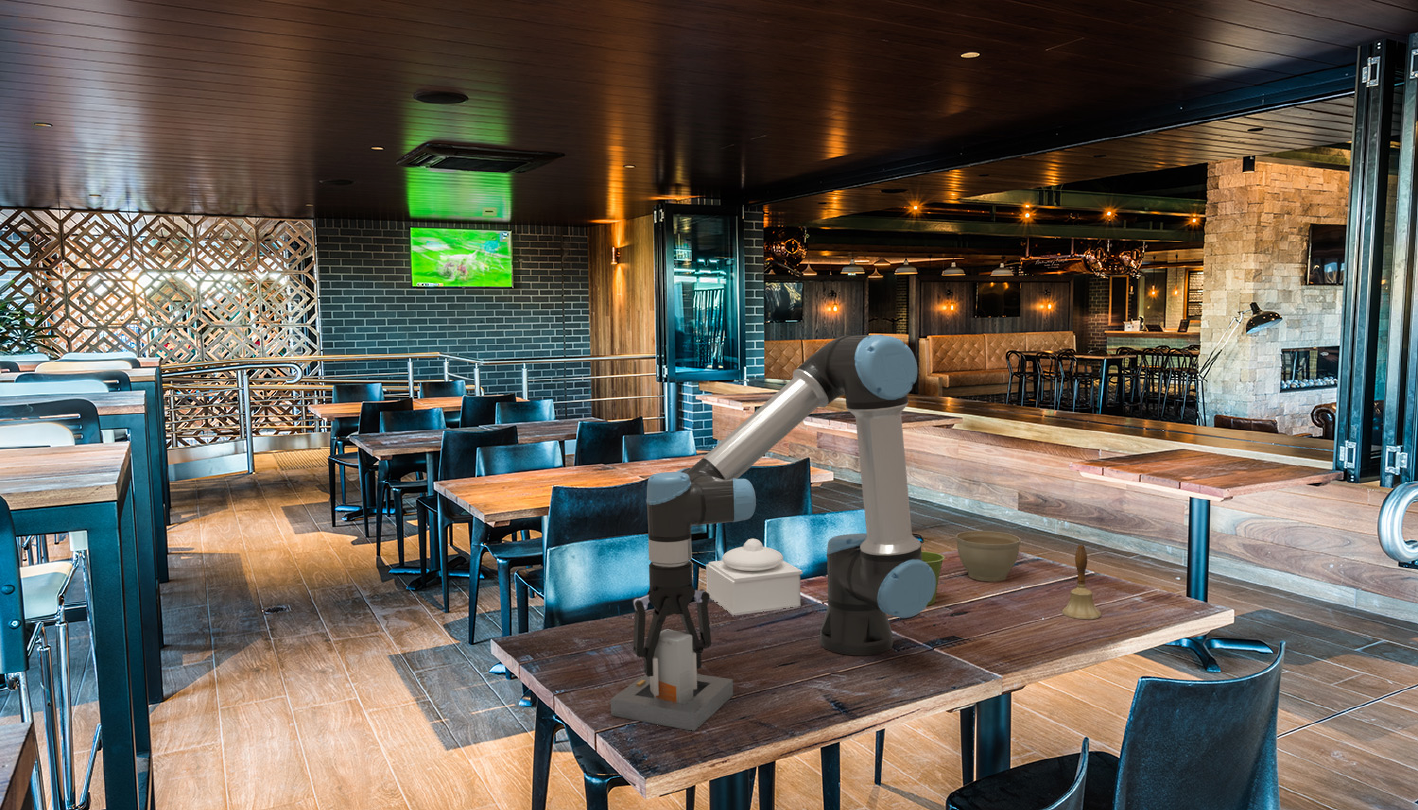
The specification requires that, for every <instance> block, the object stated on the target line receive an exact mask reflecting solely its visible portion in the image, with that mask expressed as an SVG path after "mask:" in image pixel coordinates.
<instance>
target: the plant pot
mask: <svg viewBox="0 0 1418 810" xmlns="http://www.w3.org/2000/svg"><path fill="white" fill-rule="evenodd" d="M921 553H922V561H924V562H926V563H927V564H928V565H929V567H931V568H932V570H933V572H934V574H935V579H936V587H935V592H934V595H933V597H932V599H931V601H930V602H928V604H927V606H930V605H933V604H935V602H936V599H937V591H938V585H939V578H940V573H941V569H942V565H943V561H944V560H945V558H946V557H945V555H943V554H941V553H938V552H933V551H923V550H921ZM927 606H926V607H927Z"/></svg>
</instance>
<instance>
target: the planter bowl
mask: <svg viewBox="0 0 1418 810" xmlns="http://www.w3.org/2000/svg"><path fill="white" fill-rule="evenodd" d="M955 539H956V547H957V553H958V556H959V559H960V561H961V564H962V565H963V567H964V568H965V570H966V571H967V574H968V577H969V578H971V579H973V580H976V581H980V582H989V583H991V582H992V583H993V582H1002V581H1004V580H1006V579H1007V577H1008V574H1009V572H1011V570H1012V569H1013V567H1014V565H1016V562H1017V559H1018V556H1019V551H1020V545H1021V538H1020V537H1019V536H1017V535H1014V534H1011V533H1006V532H1002V531H1001V532H1000V531H989V530H969V531H968V530H967V531H963V532H959V533H957V534H956V535H955Z"/></svg>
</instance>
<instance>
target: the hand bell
mask: <svg viewBox="0 0 1418 810" xmlns="http://www.w3.org/2000/svg"><path fill="white" fill-rule="evenodd" d="M1074 563H1075V568H1076V570H1077V571H1076V572H1077V578H1076V579H1077V581H1076V582H1077V585H1076V587H1075V588H1073V589H1071V591H1070V597H1069V601H1068V604H1067V605H1066V606H1065V607H1064V608H1063V609H1062V611H1061V613H1062V615H1063V616H1066V617H1068V618H1071V619H1076V620H1097V619H1099V618H1101V617H1102V613H1101V611H1100V610H1099V609H1098V608H1097V607H1096V605H1095V602H1094V598H1093V592H1092V591H1091V590H1090V589H1088V588H1087V587H1086V570H1087V567H1088V555H1087V551H1086V547H1085V545H1084V544H1078V545H1077V549H1076V551H1075V555H1074Z"/></svg>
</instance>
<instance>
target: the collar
mask: <svg viewBox="0 0 1418 810" xmlns="http://www.w3.org/2000/svg"><path fill="white" fill-rule="evenodd" d="M733 696H734V679H732V678H725V677H718V676H713V675H706V674H700V673H697V689H695V690H693V698H692V699H691V700H690V701H689V702H688V703H687V704H683V703H678V702H672V701H666V700H660V699H654V695H653V693H652V692H651V691H650V676H649V677H648V676H647V675H646V674H645V673H644V674H643V675H641V676H640V677H639V678H637V679H636V680H635V681H633V682H632V683H631V684H629V685H628V686H627V687H625V688H624V689H622V690H621V691H619V692H618V693H617V694H615V695H614V696H613V697H612V698H610V716H611V717H615V718H621V719H626V720H627V719H628V720H633V721H638V722H642V723H650V724H654V725H659V726H665V727H671V728H675V729H676V728H677V729H682V730H687V731H691V730H692V731H691V732H695V731H697V730H698V729H699V728H700V727H701V726H702V725H704V723H705V722H706V721H707V720H709V719H710V718H711V717H712V716H713V715H714V714H715V713H716V712H717V711H719V709H720V708H721V707H722V706H723V705H724V704H726V703H727V702H728V701H729V700H730V699H732V697H733ZM698 727H699V728H698Z"/></svg>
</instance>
